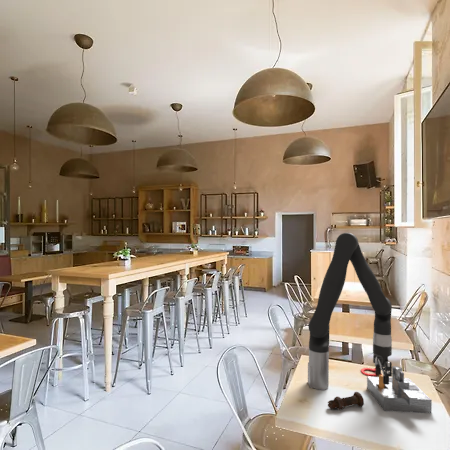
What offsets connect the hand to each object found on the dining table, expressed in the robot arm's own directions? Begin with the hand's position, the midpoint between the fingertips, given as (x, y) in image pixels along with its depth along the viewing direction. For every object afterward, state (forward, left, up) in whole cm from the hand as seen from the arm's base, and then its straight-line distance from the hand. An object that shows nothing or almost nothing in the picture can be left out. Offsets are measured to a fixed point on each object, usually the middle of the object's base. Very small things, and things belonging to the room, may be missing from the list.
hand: (381, 379), depth 144 cm
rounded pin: (0, 0, -9) cm, 9 cm away
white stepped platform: (+7, -2, -9) cm, 11 cm away
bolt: (-18, -8, -9) cm, 22 cm away
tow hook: (+4, +26, -9) cm, 28 cm away
